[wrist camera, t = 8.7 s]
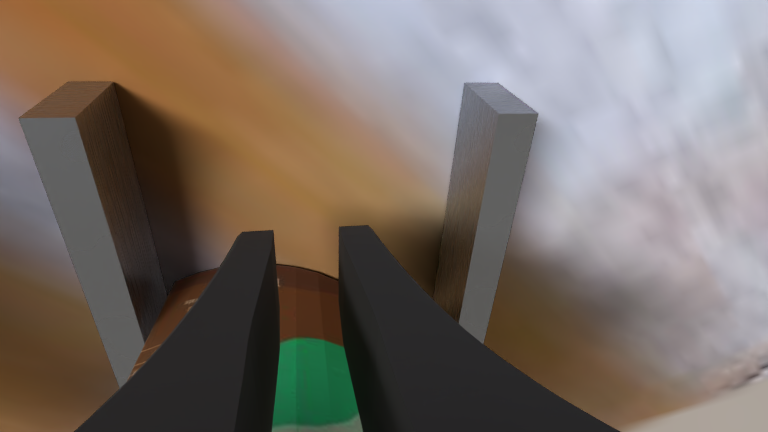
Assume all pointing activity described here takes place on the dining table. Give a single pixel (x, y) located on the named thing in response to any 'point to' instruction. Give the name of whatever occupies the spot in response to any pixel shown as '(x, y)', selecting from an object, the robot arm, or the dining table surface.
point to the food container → (288, 350)
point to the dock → (134, 238)
